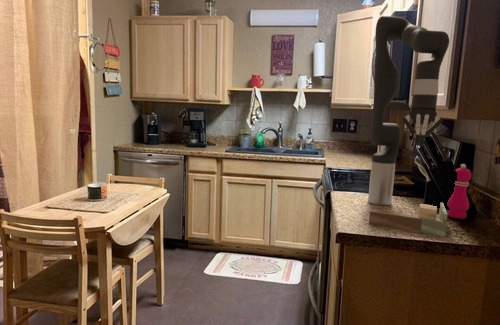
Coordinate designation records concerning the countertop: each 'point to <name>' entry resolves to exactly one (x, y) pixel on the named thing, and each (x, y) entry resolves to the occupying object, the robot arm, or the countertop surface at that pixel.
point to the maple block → (427, 212)
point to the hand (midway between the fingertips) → (419, 145)
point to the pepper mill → (459, 194)
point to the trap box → (410, 221)
